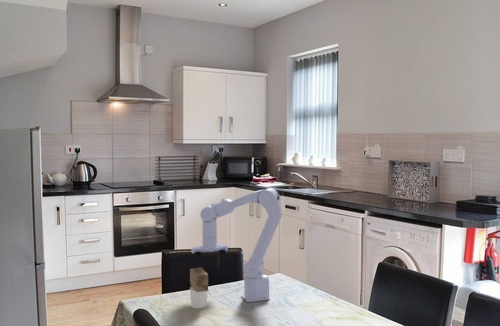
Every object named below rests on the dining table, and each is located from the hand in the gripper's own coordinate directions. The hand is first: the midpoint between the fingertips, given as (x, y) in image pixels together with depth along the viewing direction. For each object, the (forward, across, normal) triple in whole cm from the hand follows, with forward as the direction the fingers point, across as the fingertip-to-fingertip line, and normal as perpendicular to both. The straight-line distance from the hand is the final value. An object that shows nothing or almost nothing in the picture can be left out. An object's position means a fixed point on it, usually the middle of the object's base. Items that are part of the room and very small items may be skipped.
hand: (209, 269), depth 180 cm
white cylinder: (+11, -6, -10) cm, 16 cm away
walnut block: (+3, -6, -10) cm, 13 cm away
